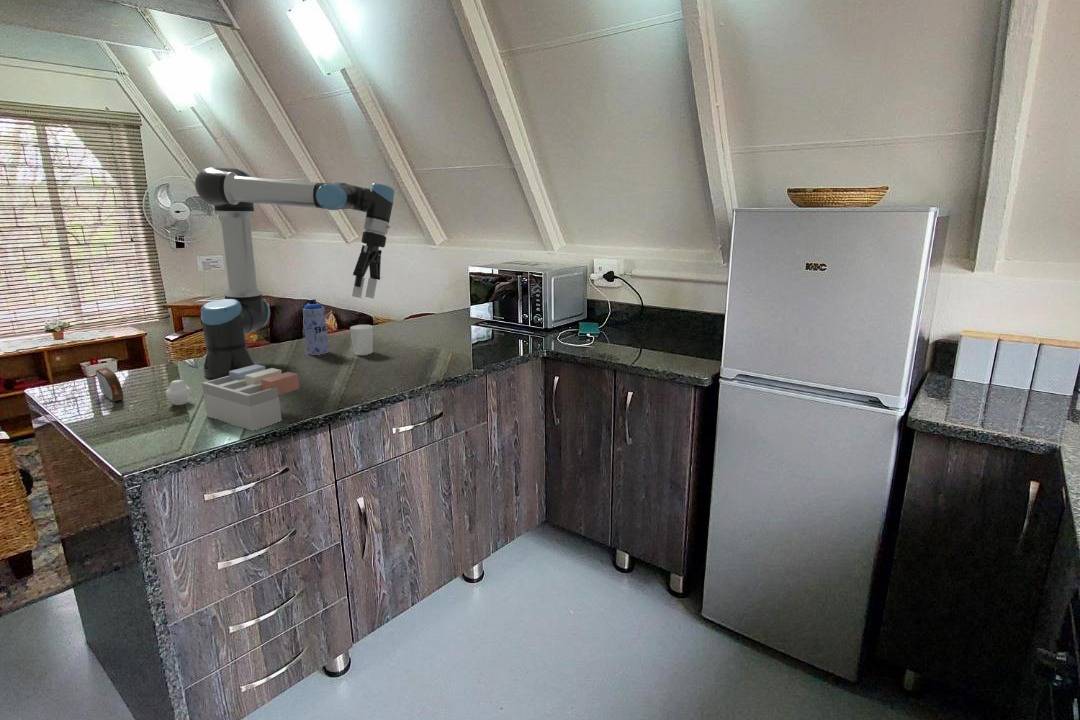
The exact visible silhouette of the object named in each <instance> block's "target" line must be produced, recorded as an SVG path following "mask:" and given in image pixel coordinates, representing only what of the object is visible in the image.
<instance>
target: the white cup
mask: <svg viewBox="0 0 1080 720" xmlns="http://www.w3.org/2000/svg"><path fill="white" fill-rule="evenodd" d="M349 331H350V338H351V344H352V347H353V348H352V349H353V354H354V355H355V356H369V355H371V353H372V354H373V351H374V350H373V346H374V334H373V333H374V330H373V325H371V324H357V325H356V324H355V325H352V326H350V327H349ZM368 354H369V355H368Z"/></svg>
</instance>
